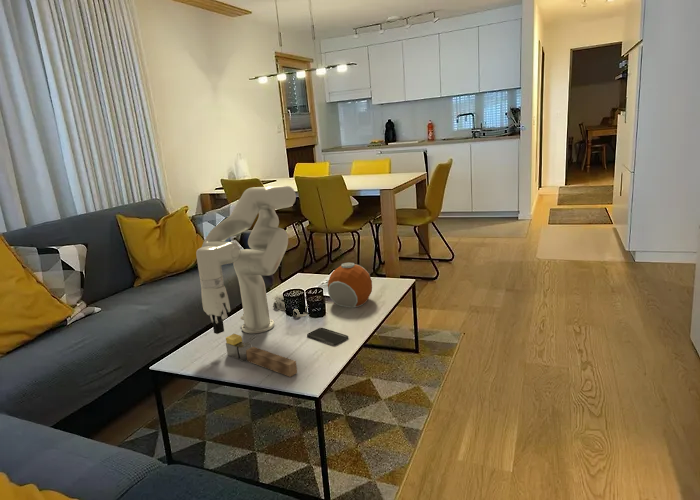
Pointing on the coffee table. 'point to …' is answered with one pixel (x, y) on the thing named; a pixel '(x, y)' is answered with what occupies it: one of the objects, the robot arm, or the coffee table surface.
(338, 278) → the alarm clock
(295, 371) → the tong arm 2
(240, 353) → the tong hinge
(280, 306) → the pale grey knobby bar
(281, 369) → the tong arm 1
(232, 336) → the tab
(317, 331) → the phone
